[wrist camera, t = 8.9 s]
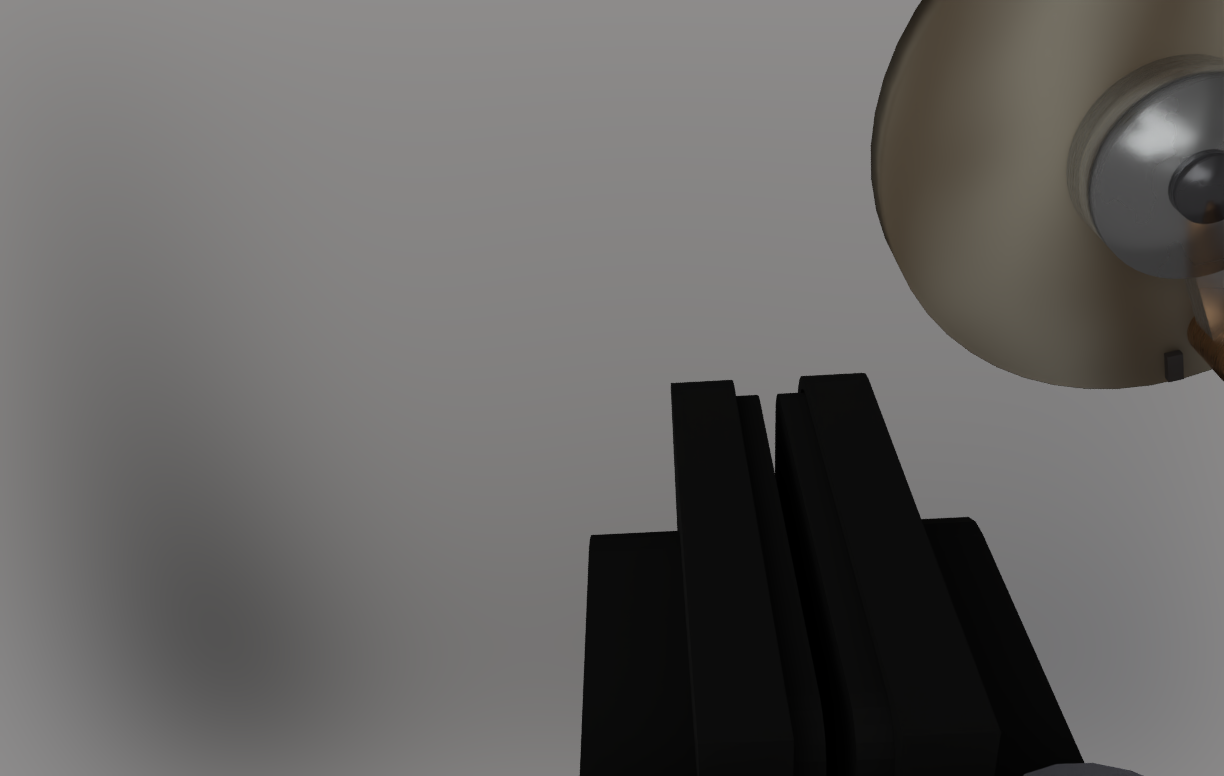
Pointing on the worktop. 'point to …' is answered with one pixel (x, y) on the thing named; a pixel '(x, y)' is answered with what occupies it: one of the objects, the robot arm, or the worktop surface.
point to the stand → (1026, 184)
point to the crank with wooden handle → (1161, 182)
